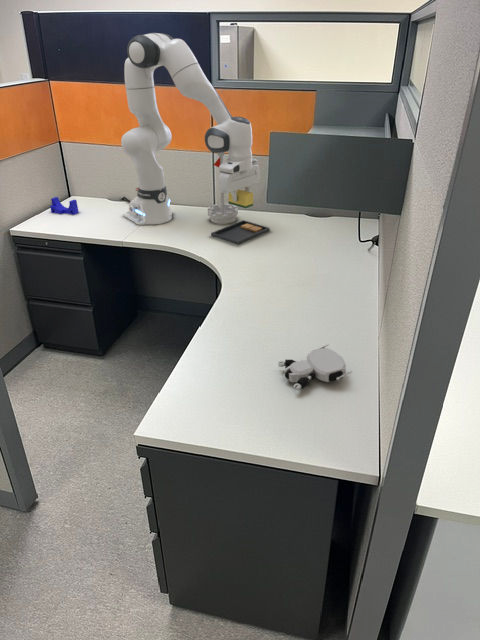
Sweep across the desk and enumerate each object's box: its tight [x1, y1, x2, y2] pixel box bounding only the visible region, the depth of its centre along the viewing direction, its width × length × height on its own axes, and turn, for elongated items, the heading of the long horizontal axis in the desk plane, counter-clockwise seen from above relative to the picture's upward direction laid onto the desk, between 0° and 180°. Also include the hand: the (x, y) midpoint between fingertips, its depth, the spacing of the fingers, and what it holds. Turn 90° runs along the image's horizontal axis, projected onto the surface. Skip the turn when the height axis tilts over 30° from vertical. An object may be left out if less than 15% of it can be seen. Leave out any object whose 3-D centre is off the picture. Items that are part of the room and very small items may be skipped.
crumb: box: [249, 226, 262, 232], centre depth 205 cm, size 4×4×1 cm
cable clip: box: [49, 196, 80, 216], centre depth 227 cm, size 12×4×6 cm, turn 66°
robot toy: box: [277, 343, 353, 391], centre depth 121 cm, size 12×4×15 cm
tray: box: [210, 219, 271, 246], centre depth 202 cm, size 15×20×2 cm
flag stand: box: [207, 152, 239, 225], centre depth 209 cm, size 13×13×30 cm
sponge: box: [227, 189, 254, 209], centre depth 195 cm, size 9×4×5 cm, turn 49°
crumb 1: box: [241, 223, 254, 230], centre depth 208 cm, size 4×4×1 cm
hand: (240, 199), depth 196 cm, fingers closed on sponge, 4 cm apart
